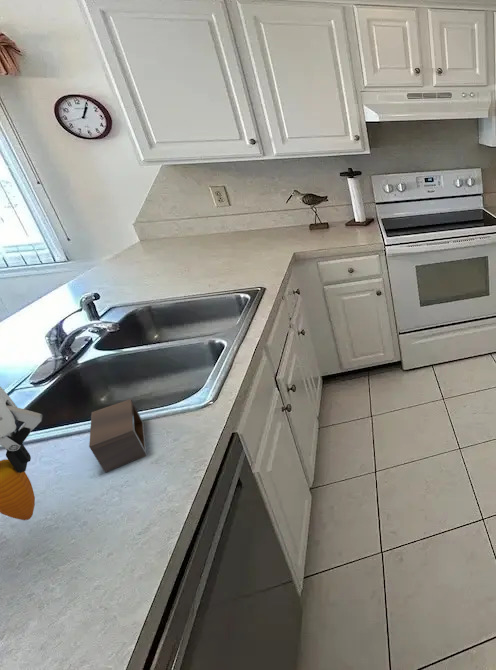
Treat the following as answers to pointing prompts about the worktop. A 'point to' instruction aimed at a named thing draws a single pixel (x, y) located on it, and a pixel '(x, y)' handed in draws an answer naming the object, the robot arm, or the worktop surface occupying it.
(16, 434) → the robot arm
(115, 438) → the shelf
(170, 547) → the worktop surface
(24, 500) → the carrot
